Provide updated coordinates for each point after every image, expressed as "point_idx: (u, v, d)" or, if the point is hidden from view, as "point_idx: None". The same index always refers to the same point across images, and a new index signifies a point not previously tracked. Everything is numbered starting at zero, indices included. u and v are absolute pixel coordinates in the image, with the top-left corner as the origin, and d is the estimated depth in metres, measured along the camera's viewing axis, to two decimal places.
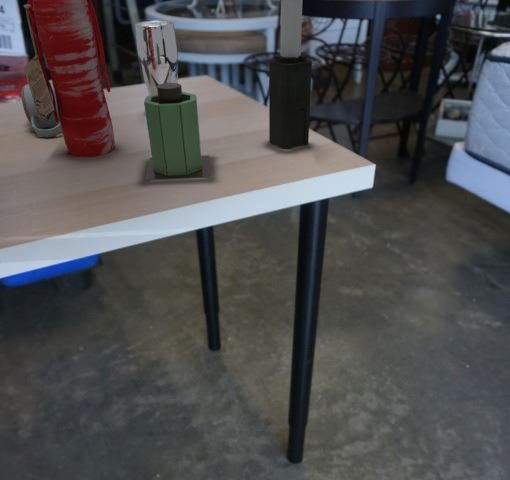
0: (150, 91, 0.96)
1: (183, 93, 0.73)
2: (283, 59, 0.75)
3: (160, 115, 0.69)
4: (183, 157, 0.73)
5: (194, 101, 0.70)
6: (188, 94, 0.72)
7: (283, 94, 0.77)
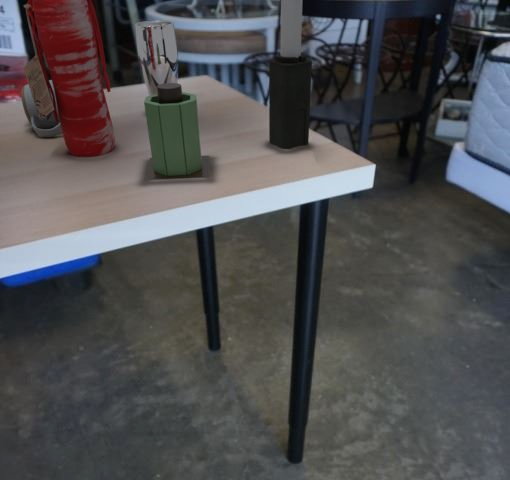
0: (150, 91, 0.96)
1: (183, 93, 0.73)
2: (283, 59, 0.75)
3: (160, 115, 0.69)
4: (183, 157, 0.73)
5: (194, 101, 0.70)
6: (188, 94, 0.72)
7: (283, 94, 0.77)
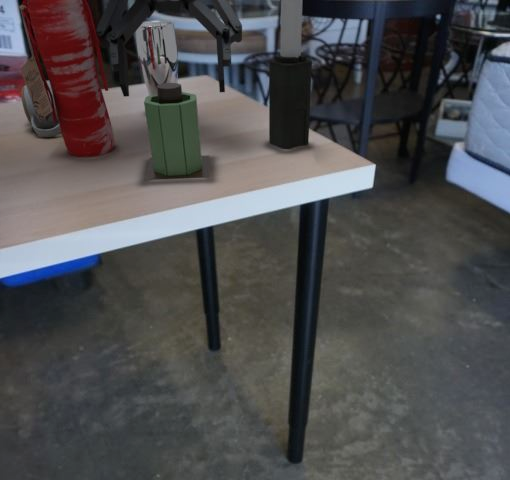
0: (150, 91, 0.96)
1: (183, 93, 0.73)
2: (283, 59, 0.75)
3: (160, 115, 0.69)
4: (183, 157, 0.73)
5: (194, 101, 0.70)
6: (188, 94, 0.72)
7: (283, 94, 0.77)
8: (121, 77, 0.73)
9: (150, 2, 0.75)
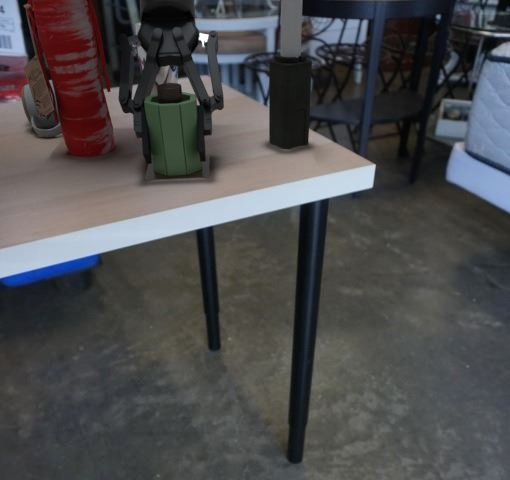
0: None
1: (183, 93, 0.73)
2: (283, 59, 0.75)
3: (160, 115, 0.69)
4: (183, 157, 0.73)
5: (194, 101, 0.70)
6: (188, 94, 0.72)
7: (283, 94, 0.77)
8: (144, 146, 0.71)
9: None
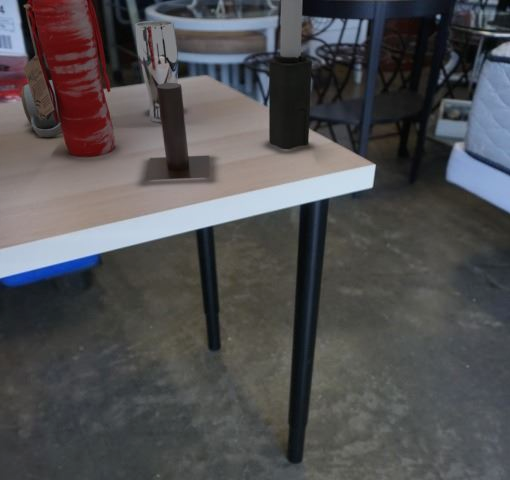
0: (150, 91, 0.96)
1: None
2: (283, 59, 0.75)
3: None
4: None
5: None
6: None
7: (283, 94, 0.77)
8: None
9: None
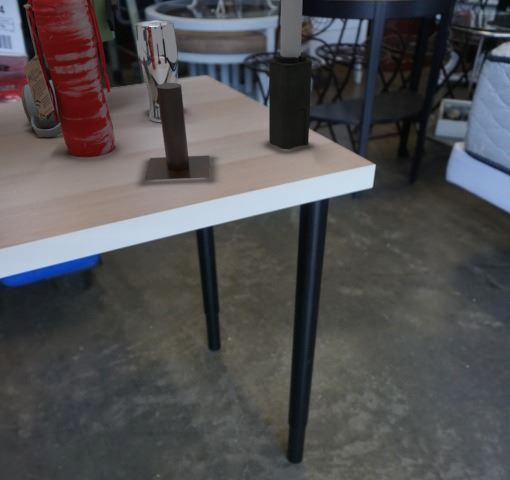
0: (150, 91, 0.96)
1: None
2: (283, 59, 0.75)
3: None
4: None
5: None
6: None
7: (283, 94, 0.77)
8: None
9: None
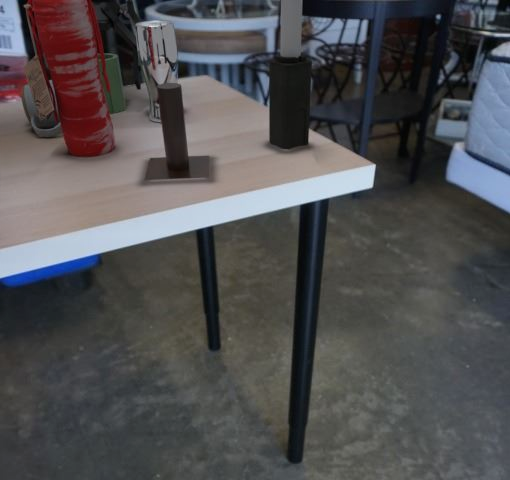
0: (150, 91, 0.96)
1: (109, 54, 1.02)
2: (283, 59, 0.75)
3: None
4: (109, 99, 1.02)
5: (115, 58, 1.00)
6: (112, 54, 1.02)
7: (283, 94, 0.77)
8: None
9: None
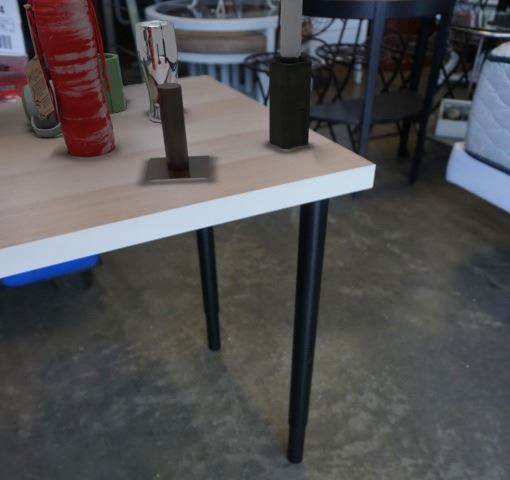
0: (150, 91, 0.96)
1: (109, 54, 1.02)
2: (283, 59, 0.75)
3: None
4: (109, 99, 1.02)
5: (115, 58, 1.00)
6: (112, 54, 1.02)
7: (283, 94, 0.77)
8: None
9: None
